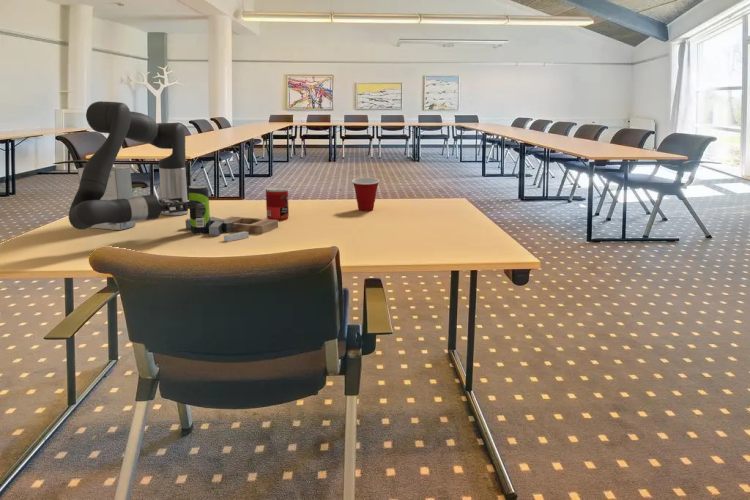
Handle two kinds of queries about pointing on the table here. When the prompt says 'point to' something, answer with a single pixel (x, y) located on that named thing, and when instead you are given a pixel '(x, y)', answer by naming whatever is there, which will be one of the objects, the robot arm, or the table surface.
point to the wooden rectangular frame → (252, 224)
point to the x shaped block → (216, 226)
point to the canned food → (277, 203)
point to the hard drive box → (115, 193)
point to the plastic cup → (365, 192)
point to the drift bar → (236, 236)
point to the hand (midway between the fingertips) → (188, 202)
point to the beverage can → (199, 209)
